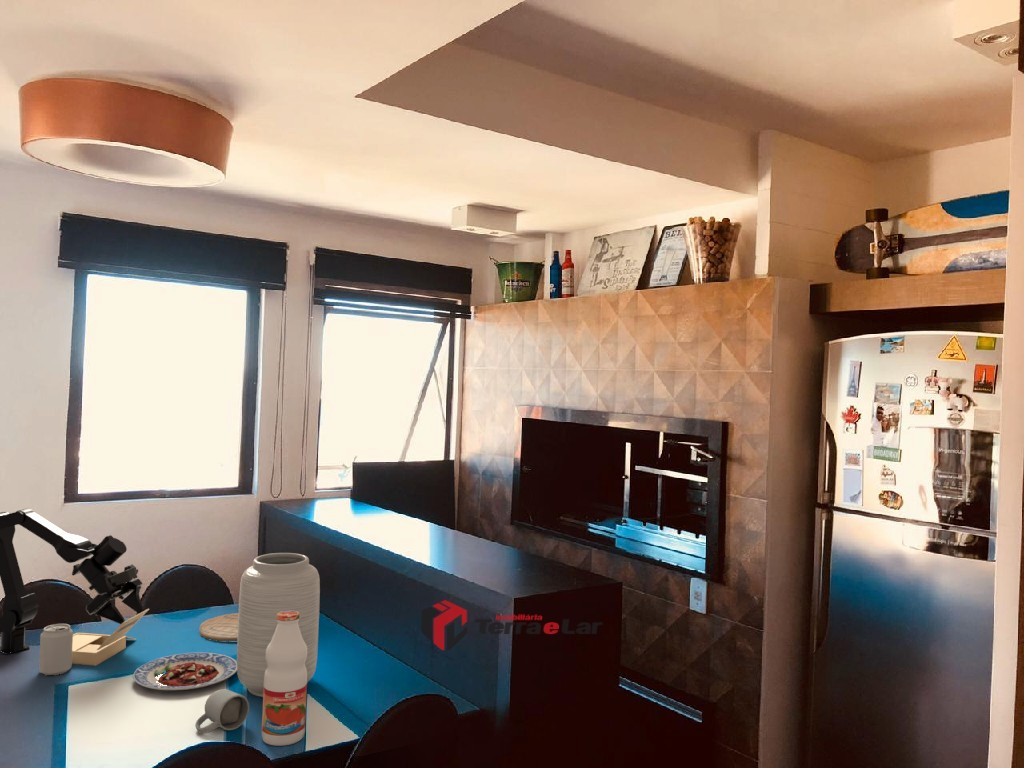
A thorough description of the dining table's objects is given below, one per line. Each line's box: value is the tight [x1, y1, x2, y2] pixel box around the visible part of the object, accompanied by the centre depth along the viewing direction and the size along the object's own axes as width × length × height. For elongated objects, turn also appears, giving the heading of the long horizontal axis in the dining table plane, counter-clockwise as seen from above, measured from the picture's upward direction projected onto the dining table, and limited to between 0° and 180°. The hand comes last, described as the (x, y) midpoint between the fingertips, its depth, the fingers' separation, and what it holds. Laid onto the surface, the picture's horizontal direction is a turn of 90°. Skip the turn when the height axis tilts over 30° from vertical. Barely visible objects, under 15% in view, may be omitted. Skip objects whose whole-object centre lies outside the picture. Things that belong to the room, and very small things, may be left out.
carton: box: [72, 632, 137, 667], centre depth 222 cm, size 15×21×4 cm
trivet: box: [198, 612, 239, 642], centre depth 245 cm, size 25×25×2 cm
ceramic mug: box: [194, 689, 250, 735], centre depth 178 cm, size 11×8×8 cm
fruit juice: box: [261, 610, 308, 747], centre depth 174 cm, size 9×9×28 cm
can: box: [38, 623, 74, 676], centre depth 206 cm, size 8×8×12 cm
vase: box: [236, 552, 321, 698], centre depth 202 cm, size 20×20×34 cm
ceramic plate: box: [132, 652, 237, 691], centre depth 206 cm, size 26×26×3 cm
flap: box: [97, 608, 150, 650], centre depth 217 cm, size 1×12×11 cm
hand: (133, 618), depth 217 cm, fingers open, 9 cm apart
